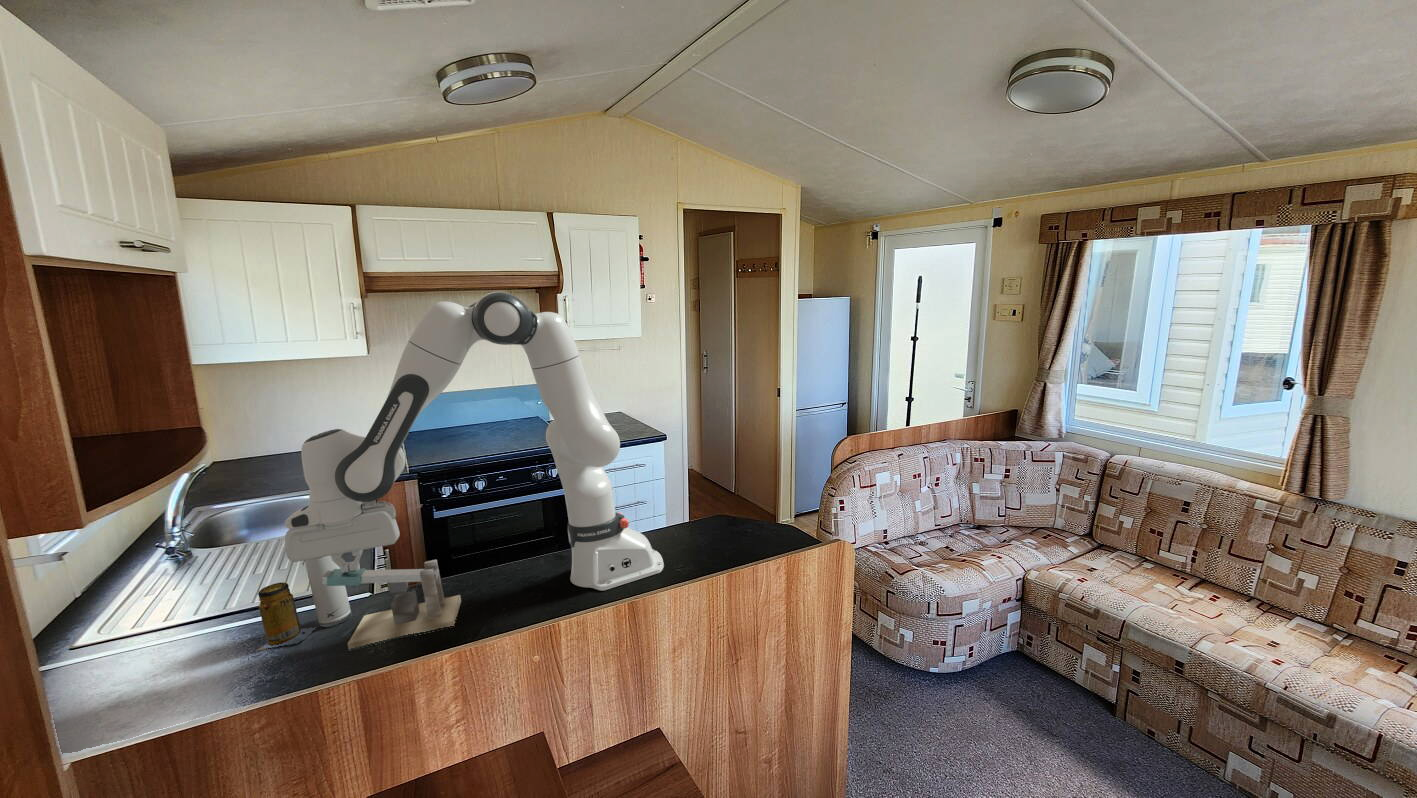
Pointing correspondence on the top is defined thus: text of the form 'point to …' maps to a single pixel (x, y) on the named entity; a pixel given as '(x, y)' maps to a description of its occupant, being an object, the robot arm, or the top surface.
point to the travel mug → (327, 592)
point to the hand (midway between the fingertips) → (350, 571)
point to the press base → (391, 630)
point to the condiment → (278, 614)
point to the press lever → (376, 578)
